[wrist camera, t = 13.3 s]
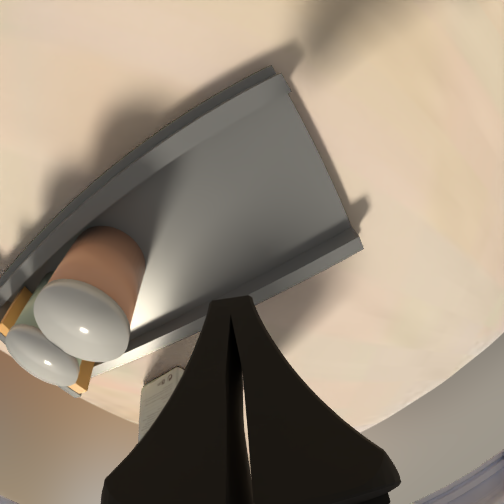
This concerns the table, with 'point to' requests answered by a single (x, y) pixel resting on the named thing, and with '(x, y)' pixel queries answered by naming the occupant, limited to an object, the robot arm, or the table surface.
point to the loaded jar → (40, 348)
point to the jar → (93, 295)
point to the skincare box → (156, 398)
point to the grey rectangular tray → (206, 214)
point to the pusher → (11, 319)
